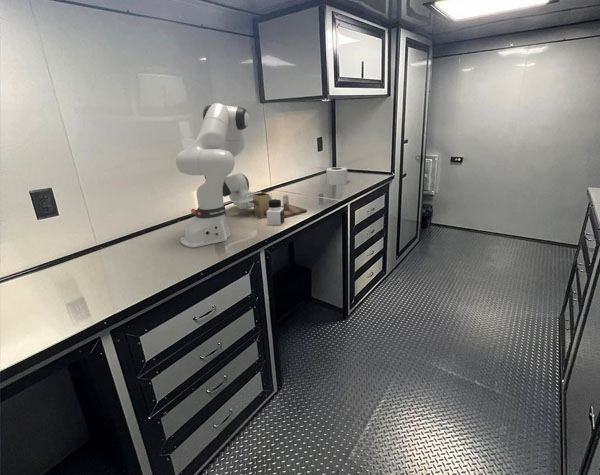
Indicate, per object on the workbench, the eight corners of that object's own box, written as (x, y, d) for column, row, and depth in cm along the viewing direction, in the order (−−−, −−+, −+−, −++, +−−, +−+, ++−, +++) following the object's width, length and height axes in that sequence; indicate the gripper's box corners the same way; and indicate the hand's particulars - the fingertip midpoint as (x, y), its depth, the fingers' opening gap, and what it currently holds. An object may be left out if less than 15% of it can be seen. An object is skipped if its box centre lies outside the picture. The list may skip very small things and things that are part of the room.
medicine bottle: (281, 225, 169) (279, 201, 164) (267, 225, 170) (265, 201, 166) (284, 220, 175) (283, 198, 171) (271, 220, 177) (269, 197, 172)
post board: (283, 218, 179) (282, 199, 175) (266, 212, 191) (264, 195, 187) (306, 212, 188) (306, 194, 185) (288, 206, 200) (288, 190, 197)
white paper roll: (332, 186, 248) (331, 171, 245) (323, 182, 262) (322, 168, 258) (350, 183, 254) (351, 168, 250) (341, 180, 267) (341, 166, 263)
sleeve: (262, 219, 180) (260, 196, 176) (253, 215, 186) (251, 194, 182) (272, 216, 184) (270, 194, 180) (263, 213, 190) (261, 192, 185)
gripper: (231, 197, 185) (244, 201, 175) (262, 190, 197) (276, 194, 187) (232, 208, 187) (245, 213, 177) (263, 201, 199) (277, 205, 189)
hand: (261, 203), depth 182 cm, fingers open, 8 cm apart
